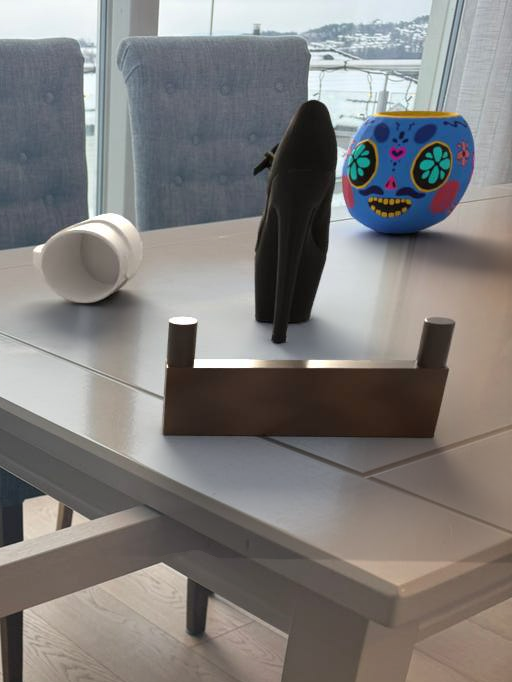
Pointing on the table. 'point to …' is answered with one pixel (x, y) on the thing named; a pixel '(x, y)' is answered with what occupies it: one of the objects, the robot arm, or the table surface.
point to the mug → (90, 258)
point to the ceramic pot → (407, 169)
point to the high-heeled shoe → (295, 219)
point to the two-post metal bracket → (304, 391)
